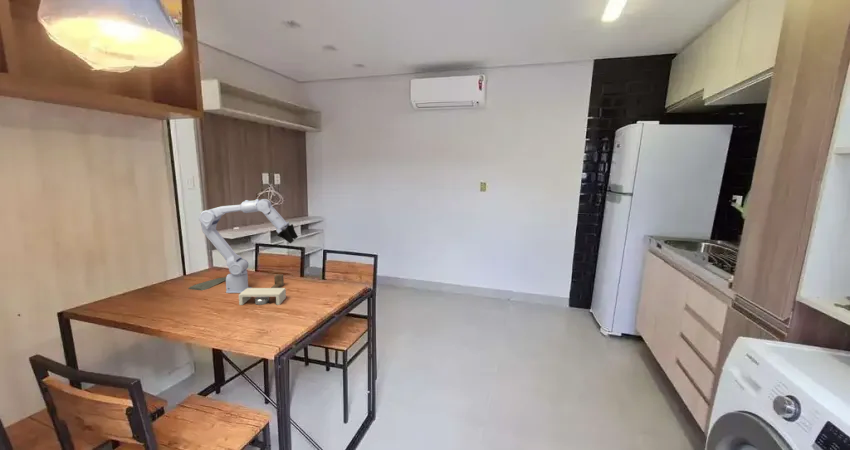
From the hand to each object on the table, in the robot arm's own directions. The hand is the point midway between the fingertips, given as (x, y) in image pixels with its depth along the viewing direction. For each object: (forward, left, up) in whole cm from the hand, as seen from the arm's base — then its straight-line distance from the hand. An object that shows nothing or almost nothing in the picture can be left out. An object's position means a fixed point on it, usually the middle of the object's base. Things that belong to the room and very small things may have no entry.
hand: (294, 240), depth 177 cm
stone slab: (-47, +10, -27) cm, 55 cm away
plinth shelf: (-10, -17, -26) cm, 33 cm away
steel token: (-10, -19, -26) cm, 34 cm away
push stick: (-10, -2, -26) cm, 28 cm away
